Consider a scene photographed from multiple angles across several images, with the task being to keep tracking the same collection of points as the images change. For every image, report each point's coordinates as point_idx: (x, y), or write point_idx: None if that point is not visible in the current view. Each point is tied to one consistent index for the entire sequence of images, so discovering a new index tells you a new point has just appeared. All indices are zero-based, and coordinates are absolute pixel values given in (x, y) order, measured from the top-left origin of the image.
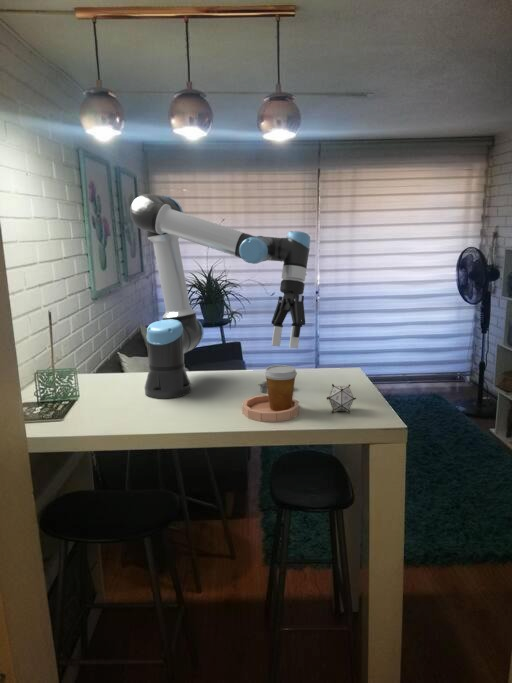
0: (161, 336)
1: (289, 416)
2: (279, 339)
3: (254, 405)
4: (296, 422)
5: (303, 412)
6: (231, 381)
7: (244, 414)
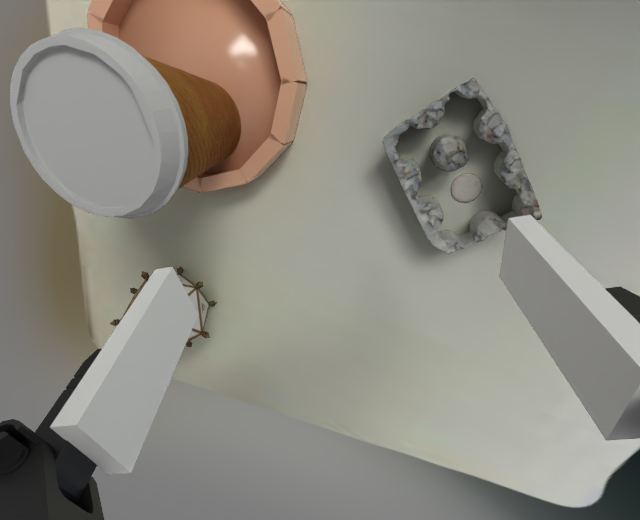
0: None
1: None
2: (528, 309)
3: (243, 14)
4: None
5: (189, 192)
6: None
7: None
